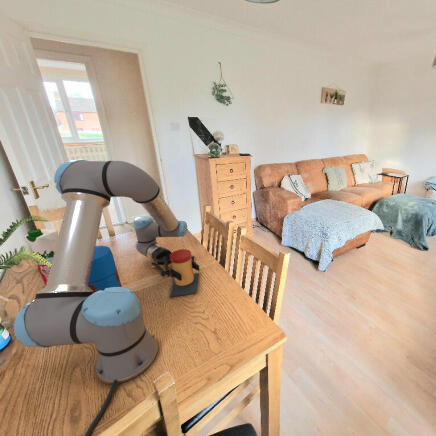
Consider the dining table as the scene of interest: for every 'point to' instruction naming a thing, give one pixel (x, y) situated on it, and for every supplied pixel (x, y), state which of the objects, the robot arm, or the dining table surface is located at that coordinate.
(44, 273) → the soda can
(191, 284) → the mat
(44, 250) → the milk carton
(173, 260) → the jam lid
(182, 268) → the jam jar
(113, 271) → the thermos
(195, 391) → the dining table surface
